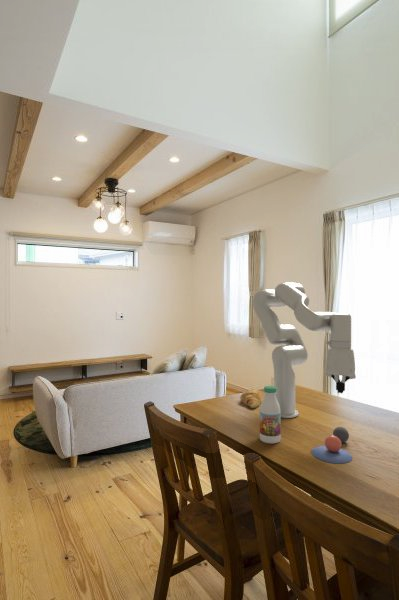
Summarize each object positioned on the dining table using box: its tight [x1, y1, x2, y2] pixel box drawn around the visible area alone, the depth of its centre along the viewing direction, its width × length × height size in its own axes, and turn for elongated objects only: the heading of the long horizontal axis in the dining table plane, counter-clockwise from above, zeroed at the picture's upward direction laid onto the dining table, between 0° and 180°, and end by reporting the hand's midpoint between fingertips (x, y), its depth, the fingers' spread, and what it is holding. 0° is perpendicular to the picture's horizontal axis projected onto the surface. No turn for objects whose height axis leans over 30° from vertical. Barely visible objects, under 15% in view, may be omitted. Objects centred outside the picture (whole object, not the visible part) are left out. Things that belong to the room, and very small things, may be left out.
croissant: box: [239, 389, 262, 409], centre depth 177 cm, size 21×10×8 cm, turn 1°
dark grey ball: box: [332, 426, 350, 444], centre depth 129 cm, size 6×6×6 cm
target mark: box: [311, 445, 353, 465], centre depth 119 cm, size 13×13×1 cm
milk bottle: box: [259, 385, 282, 445], centre depth 131 cm, size 8×8×20 cm
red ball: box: [324, 434, 342, 452], centre depth 121 cm, size 6×6×6 cm
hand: (340, 392), depth 134 cm, fingers closed
